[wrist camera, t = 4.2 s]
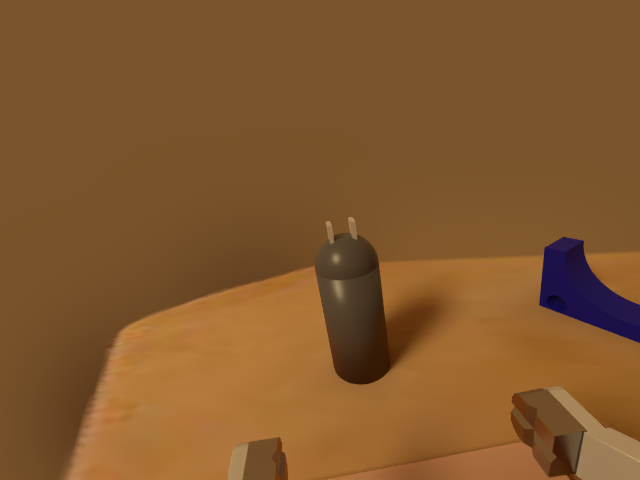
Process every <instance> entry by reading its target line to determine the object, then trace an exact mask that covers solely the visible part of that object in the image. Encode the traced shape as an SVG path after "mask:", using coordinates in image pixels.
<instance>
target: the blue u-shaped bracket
mask: <svg viewBox="0 0 640 480" xmlns="http://www.w3.org/2000/svg"><path fill="white" fill-rule="evenodd" d="M583 245H584V241H581V240H577V239H571V238H566V237H563V238H561V239H559V240H557V241H556V242H554V243H552V244H550V245H549V246H547V247H545V250H544V261H543V271H542V282H541V292H540V303H539V305H540V306H543V307H545V308H548V309H551V310H553V311H556V312H559V313H561V314H564V315H567V316H569V317H572V318H575V319H577V320H580V321H583V322H585V323H588V324H591V325H593V326H596V327H599V328H601V329H604V330H607V331H610V332H612V333H615V334H618V335H620V336H623V337H626V338H628V339H631V340H634V341H636V342H639V343H640V305H638V304H636V303H633V302H631V301H629V300H626V299H625V298H623V297H621V296H619V295H617V294H616V293H614V292H613V291H611V290H610V289H609V288H607V287H606V286H605V285H604V284H603V283H601V282H600V281H599V279H598V278H597V277H596V276H595V275H594V274H593V272H592V271H591V269H590V268H589V266H588V264H587V261H586V258H585V255H584V248H583Z"/></svg>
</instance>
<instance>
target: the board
mask: <svg viewBox="0 0 640 480" xmlns="http://www.w3.org/2000/svg"><path fill="white" fill-rule="evenodd" d="M326 480H570V479H569V477H568V476H567V475H563V476H556V477H548V476H547V475H546V473H545V472H544V471H543V469H542V468H541V467H540V465H539V464H538V463H537V461H536V460H535V459H534V457H533V452H532V448H531V447H529V446H528V445H526V444H524V443H523V442H518V443H513V444H508V445H503V446H497V447H492V448H487V449H482V450H477V451H471V452H466V453H461V454H456V455H451V456H445V457H440V458H435V459H430V460H425V461H420V462H414V463H409V464H404V465H399V466H394V467H388V468H383V469H378V470H373V471H368V472H362V473H357V474H352V475H347V476H342V477H336V478H331V479H326Z"/></svg>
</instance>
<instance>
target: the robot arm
mask: <svg viewBox="0 0 640 480" xmlns="http://www.w3.org/2000/svg"><path fill="white" fill-rule="evenodd" d="M512 403H513V404H514V405H515V407H514V408H513V410H512V411H511V421H512V424H513V428H514V430H515V431H516V433H517V435H518V437H519V438H520V439H521V441H522V442H523V443H524V444H526V445H528V446H529V447H531V448H532V452H533V457H534V459H535V460H536V461H537V463H538V464H539V465H540V467H541V468H542V469H543V471H544V472H545V473H546V475H547V476H548V477H556V476H563V475H569V474H576V476H578V477H579V478H581V479H582V480H640V442H639V441H637V440H635V439H633V438H631V437H629V436H627V435H625V434H623V433H620V432H618V431H616V430H614V429H612V428H610V427H609V428H605V427H604V426H603V425H601V424H600V423H599V422H598V421H597V420H596V419H595V418H594V417H593V416H592V415H591V414H590V413H589V412H588V411H587V410H586V409H585V408H583V407H582V406H581V405H580V404H579V403H578V402H577V401H576V400H575V399H574V398H573V397H572V396H571V395H570V394H569V393H568V392H567V391H565V390H564V389H563V388H562V387H560V386H552V387H547V388H543V389H542V388H540V389H535V390H530V391H525V392H520V393H515V394H514V395H513V396H512ZM227 480H288V469H287V461H286V456H285V453H284V452H282V442H281V439H280V437H278V438H272V439H265V440H259V441H252V442H246V443H240V444H236V445H235V447H234V449H233V452H232V457H231V462H230V467H229V472H228V477H227Z"/></svg>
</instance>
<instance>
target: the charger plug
mask: <svg viewBox="0 0 640 480" xmlns="http://www.w3.org/2000/svg"><path fill="white" fill-rule="evenodd" d="M348 221H349V228H350V233H341V234H337V235H334V236H333V231H332V226H331V223H330V221H327V222H326V226H327V232H328V238H329V239H327V240H326V241H325V242H324V243H323V244H322V245H321V247H320V248H319V250H318V253H317V255H316V259H315V270H316V276H317V281H318V286H319V291H320V296H321V302H322V307H323V312H324V317H325V322H326V327H327V333H328V338H329V343H330V348H331V353H332V358H333V364H334V368H335V371H336V373H337V375H338V376H339V377H340V378H342V379H343V380H345V381H347V382H349V383H353V384H368V383H372V382H375V381H377V380H379V379H380V378H382V377H383V376H384V375H385V374H386V372H387V371H388V369H389V365H390V359H389V350H388V341H387V332H386V324H385V315H384V306H383V297H382V288H381V279H380V270H379V261H378V256H377V253H376V251H375V249H374V247H372V245H371V244H370V243H369V242H368V241H367V240H366V239H365V238H363V237H361V236H359V235H357V232H356V224H355V221H354V219H353V218H352V217H349V218H348Z"/></svg>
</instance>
